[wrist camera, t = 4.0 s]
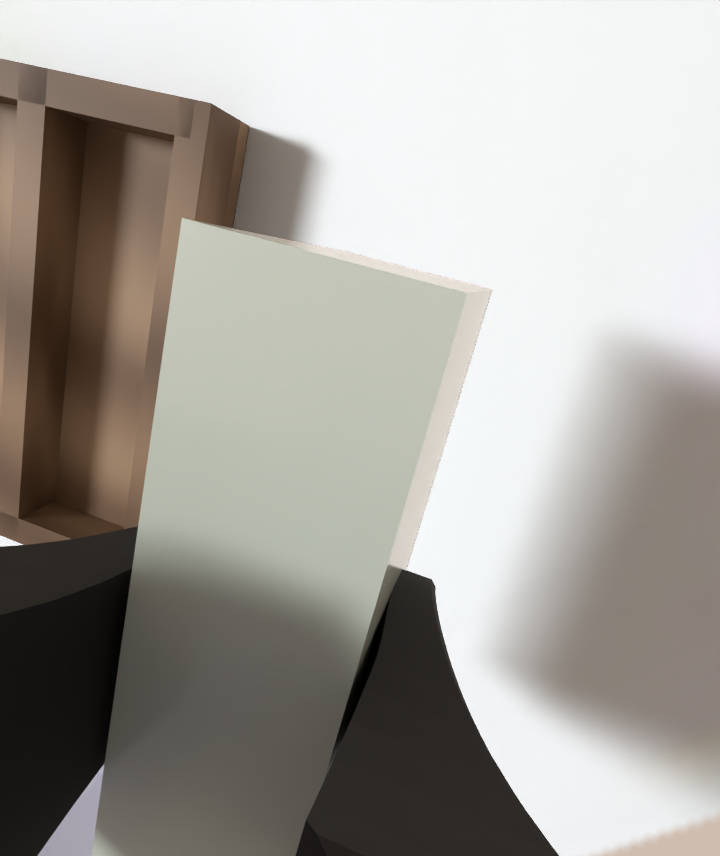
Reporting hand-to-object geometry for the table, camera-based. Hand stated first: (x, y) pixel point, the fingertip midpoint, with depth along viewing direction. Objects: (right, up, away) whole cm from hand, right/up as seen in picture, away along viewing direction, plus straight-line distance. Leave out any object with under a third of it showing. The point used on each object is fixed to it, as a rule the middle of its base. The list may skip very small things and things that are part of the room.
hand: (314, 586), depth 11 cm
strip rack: (-13, +8, +11) cm, 18 cm away
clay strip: (+1, +1, +2) cm, 2 cm away
